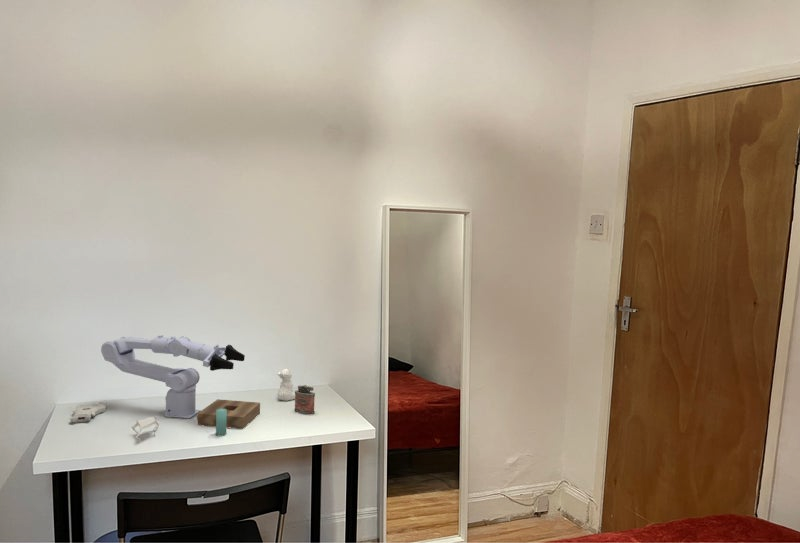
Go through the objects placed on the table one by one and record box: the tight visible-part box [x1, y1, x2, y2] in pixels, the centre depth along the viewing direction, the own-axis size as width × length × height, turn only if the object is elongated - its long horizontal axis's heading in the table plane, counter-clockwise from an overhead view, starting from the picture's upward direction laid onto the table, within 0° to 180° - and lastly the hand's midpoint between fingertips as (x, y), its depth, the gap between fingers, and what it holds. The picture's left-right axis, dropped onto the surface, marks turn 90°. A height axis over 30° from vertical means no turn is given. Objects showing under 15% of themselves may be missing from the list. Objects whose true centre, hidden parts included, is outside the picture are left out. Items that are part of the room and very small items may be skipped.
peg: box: [215, 409, 227, 437], centre depth 193 cm, size 3×3×8 cm
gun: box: [69, 402, 108, 423], centre depth 207 cm, size 18×4×10 cm
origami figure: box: [130, 416, 160, 443], centre depth 188 cm, size 12×8×5 cm
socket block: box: [196, 399, 261, 429], centre depth 208 cm, size 16×16×4 cm
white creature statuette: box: [276, 368, 295, 402], centre depth 233 cm, size 10×9×12 cm
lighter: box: [293, 384, 316, 415], centre depth 218 cm, size 8×3×10 cm, turn 68°
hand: (238, 362), depth 205 cm, fingers open, 7 cm apart
